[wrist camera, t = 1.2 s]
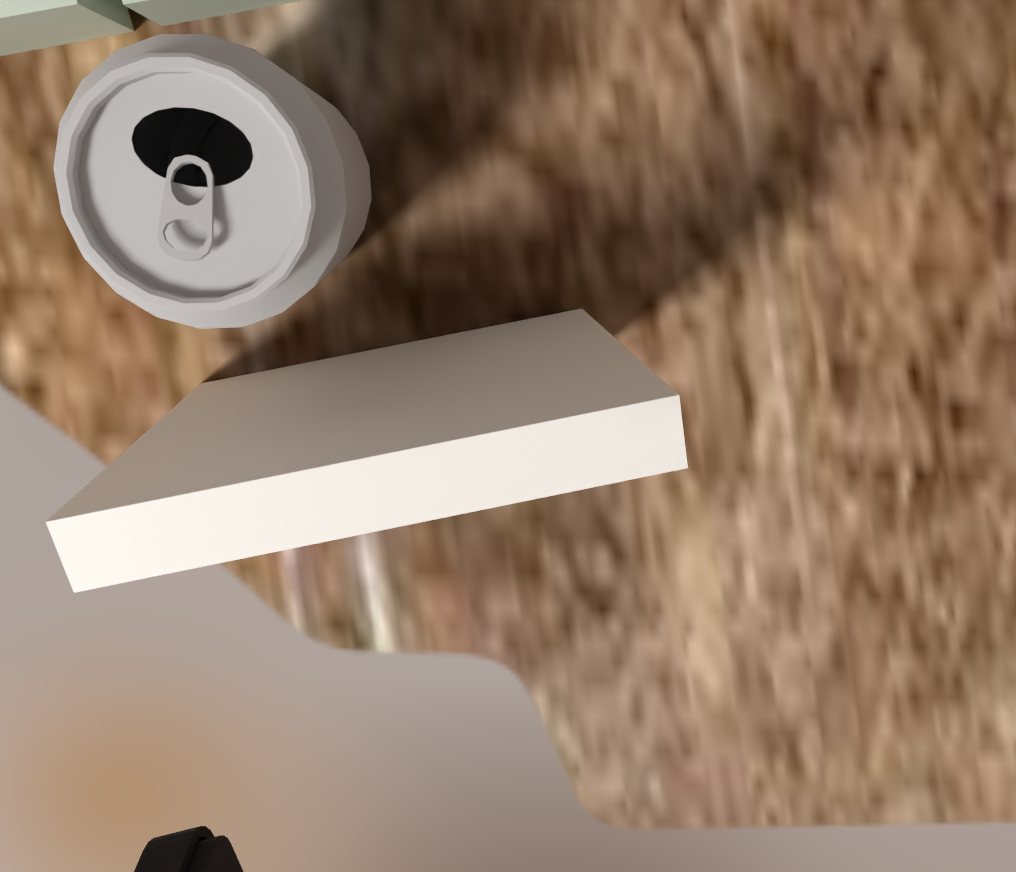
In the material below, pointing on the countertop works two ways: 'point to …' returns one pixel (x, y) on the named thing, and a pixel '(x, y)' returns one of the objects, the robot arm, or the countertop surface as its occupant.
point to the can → (208, 180)
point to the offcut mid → (194, 8)
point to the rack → (372, 447)
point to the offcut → (58, 22)
